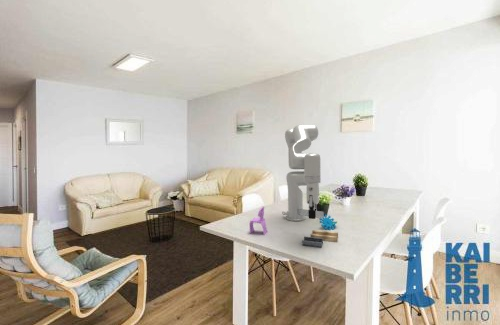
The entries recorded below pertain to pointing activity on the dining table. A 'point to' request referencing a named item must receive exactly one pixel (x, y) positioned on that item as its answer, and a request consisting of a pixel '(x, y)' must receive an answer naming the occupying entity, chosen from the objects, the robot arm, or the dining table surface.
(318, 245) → the cradle
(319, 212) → the axle
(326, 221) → the gear
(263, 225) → the toy chair
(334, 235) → the beam
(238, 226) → the dining table surface
